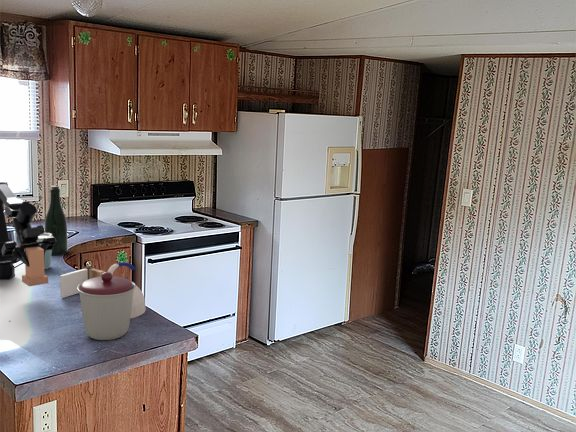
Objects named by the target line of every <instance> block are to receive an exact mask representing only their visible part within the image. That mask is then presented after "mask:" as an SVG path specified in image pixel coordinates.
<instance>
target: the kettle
mask: <svg viewBox="0 0 576 432" xmlns="http://www.w3.org/2000/svg"><path fill="white" fill-rule="evenodd" d="M118 267H127V268H129V270H131V271H134V270H136V267H135V266H134V265H132V264H131V263H129V262H125V261H124V262H123V261H121V262H116V263H114V264H112V265H111V266H110V267H109V268H108V270H107V272H110V273H111V274H112V276H114V273H115V271H116V269H118ZM125 278H126V279H128V280H129V278H128V277H125ZM145 300H146V299H145V295H144V294H143V292H142V290H141V289H140V288H139V286H137V285H136V288H135V289H134V291H133V301H132V309H131V317H130V320H131V319H134V318H138V317H140V316H141V315H143V314H145V312H146V311H147V308H146V301H145Z"/></svg>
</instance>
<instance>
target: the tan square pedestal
mask: <svg viewBox="0 0 576 432" xmlns="http://www.w3.org/2000/svg"><path fill="white" fill-rule="evenodd" d="M24 251H25V254H26V256H27V259H28V261H29V265H30V266H29V267H28V266H26V265H25V264H24V265H25V267H24V268H25V269H24V270H25V274H22V275H21V282H22V283H23V284H25V285H26V286H28V287H36V286H41V285H45V284H49V276H48V275H46V274H45V269H44V249H42V248H40V247H32V248H25V249H24Z"/></svg>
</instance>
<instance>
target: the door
mask: <svg viewBox="0 0 576 432" xmlns="http://www.w3.org/2000/svg"><path fill="white" fill-rule="evenodd" d="M86 280H88V269H87V268H82V269H79V270H75V271H70V272H67V273H64V274H60V275H59V286H60V287H59V288H60V298H68V297H70V296H73V295H76V294H80V293H79V292H78V290H77V287H78V285H79V284H81V283H83V282H84V281H86Z"/></svg>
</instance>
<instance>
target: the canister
mask: <svg viewBox="0 0 576 432" xmlns="http://www.w3.org/2000/svg"><path fill="white" fill-rule="evenodd" d="M126 278H127V277H123V276H115V275H112V274H111V273H110V272H108V271H104V273H103V274H102V275H101V277H96V278H91V279H88V280H86V281H84V282H83V283H81V284H79V285H78V287H77V290H78V292H79V293H78V294H79V299H80V300H79V301H80V308H81V315H82V322H83V326H84V331H85V333H86V335H87V336H88V337H89V338H91V339H94V340H97V341H98V340H99V341H111V340H115V339H116V340H117V339H118V338H121V337H123V336H124V335H126V334H127V332H128V330H129V328H130V323H131V322H130V321H131V319H130V317H131V309H132V301H133V291H134V289H135V288H136V286H137V284H136V283H135V282H134V281H131V280H130V279H129V278H128V279H126Z"/></svg>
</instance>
